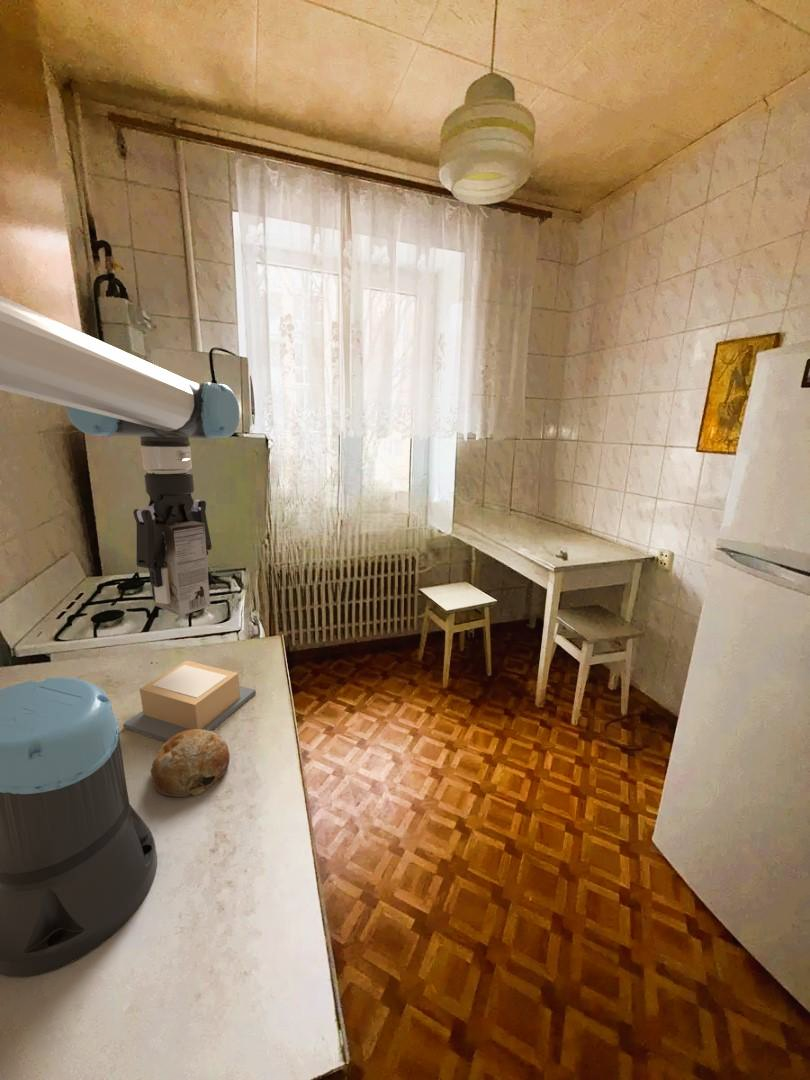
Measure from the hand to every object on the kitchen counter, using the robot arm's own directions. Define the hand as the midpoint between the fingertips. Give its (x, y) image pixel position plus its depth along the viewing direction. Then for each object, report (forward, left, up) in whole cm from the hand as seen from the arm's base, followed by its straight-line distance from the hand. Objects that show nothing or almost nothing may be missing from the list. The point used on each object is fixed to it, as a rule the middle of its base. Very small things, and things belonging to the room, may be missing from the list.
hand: (181, 595), depth 82 cm
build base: (-6, -7, -18) cm, 21 cm away
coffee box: (0, 0, -2) cm, 2 cm away
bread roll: (-18, -18, -19) cm, 31 cm away
